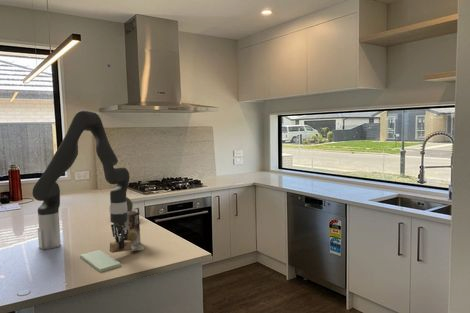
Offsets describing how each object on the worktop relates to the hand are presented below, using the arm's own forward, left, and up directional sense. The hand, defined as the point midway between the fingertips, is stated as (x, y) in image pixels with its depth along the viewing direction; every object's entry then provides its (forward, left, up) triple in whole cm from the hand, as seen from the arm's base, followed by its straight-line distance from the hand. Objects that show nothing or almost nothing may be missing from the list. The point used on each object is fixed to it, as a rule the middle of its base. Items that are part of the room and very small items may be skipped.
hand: (120, 247), depth 162 cm
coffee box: (+10, +12, -4) cm, 16 cm away
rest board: (-10, 0, -4) cm, 10 cm away
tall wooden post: (+3, 0, -2) cm, 3 cm away
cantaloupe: (+28, +60, -4) cm, 66 cm away
